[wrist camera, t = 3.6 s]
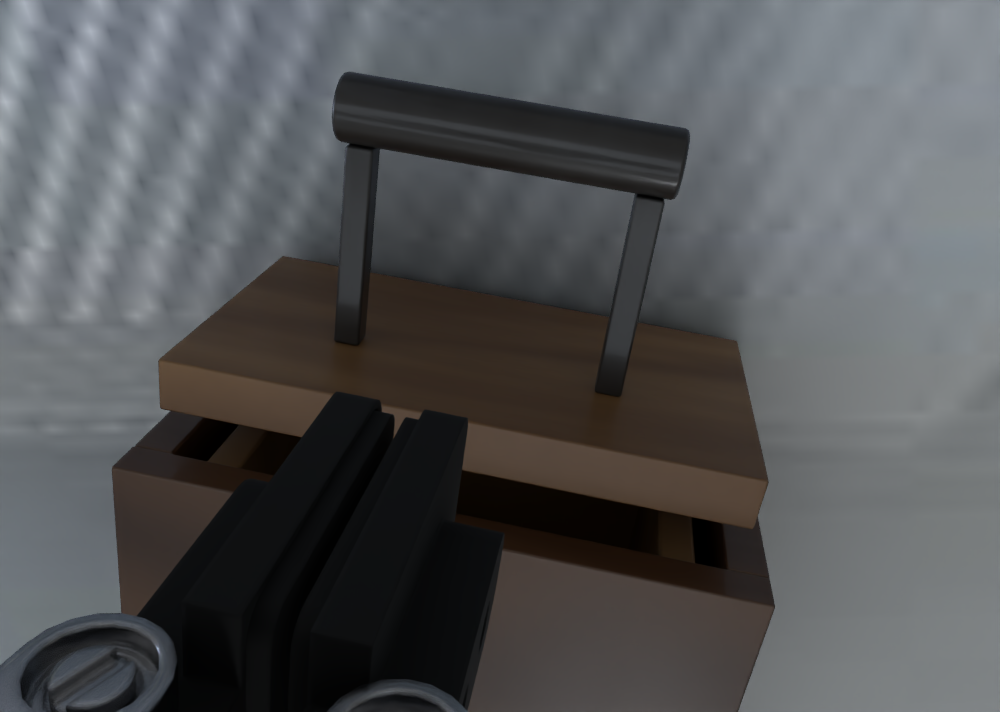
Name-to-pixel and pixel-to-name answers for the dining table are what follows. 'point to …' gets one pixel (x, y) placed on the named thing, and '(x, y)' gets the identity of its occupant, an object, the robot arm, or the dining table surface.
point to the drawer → (493, 341)
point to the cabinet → (509, 592)
